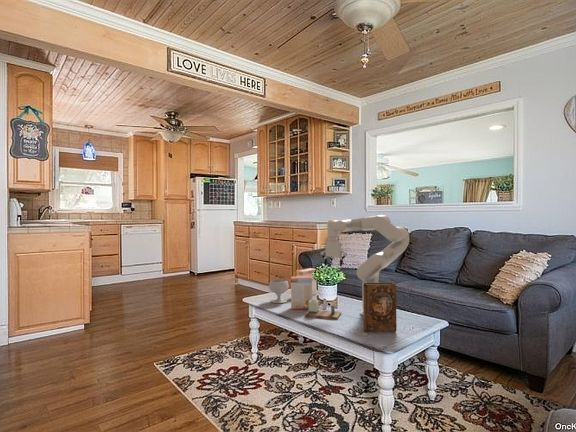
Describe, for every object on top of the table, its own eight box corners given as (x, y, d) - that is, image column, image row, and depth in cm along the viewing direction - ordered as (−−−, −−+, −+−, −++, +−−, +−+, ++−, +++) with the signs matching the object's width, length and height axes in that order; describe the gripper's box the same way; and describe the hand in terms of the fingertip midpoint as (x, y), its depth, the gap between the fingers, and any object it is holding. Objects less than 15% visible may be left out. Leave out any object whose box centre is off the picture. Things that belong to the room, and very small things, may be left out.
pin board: (341, 314, 217) (341, 303, 217) (337, 319, 205) (337, 308, 205) (310, 311, 223) (310, 301, 223) (304, 316, 212) (304, 306, 212)
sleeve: (319, 311, 218) (318, 300, 218) (316, 313, 213) (316, 302, 213) (310, 310, 220) (310, 299, 220) (308, 313, 215) (308, 301, 215)
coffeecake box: (310, 292, 276) (310, 267, 275) (317, 294, 270) (316, 268, 270) (296, 295, 266) (296, 270, 266) (302, 297, 260) (302, 271, 260)
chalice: (282, 305, 239) (282, 283, 239) (265, 302, 246) (265, 281, 246) (292, 300, 251) (292, 279, 251) (275, 298, 258) (275, 278, 258)
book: (365, 333, 183) (364, 285, 182) (362, 329, 188) (362, 283, 188) (396, 332, 183) (396, 284, 183) (393, 328, 189) (392, 282, 188)
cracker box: (313, 307, 233) (312, 276, 233) (312, 310, 227) (312, 277, 227) (291, 307, 234) (291, 275, 234) (291, 309, 228) (290, 277, 228)
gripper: (347, 238, 229) (347, 265, 230) (321, 238, 235) (322, 264, 236) (345, 239, 222) (345, 266, 223) (319, 239, 228) (319, 265, 228)
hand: (333, 265), depth 229 cm, fingers open, 9 cm apart
